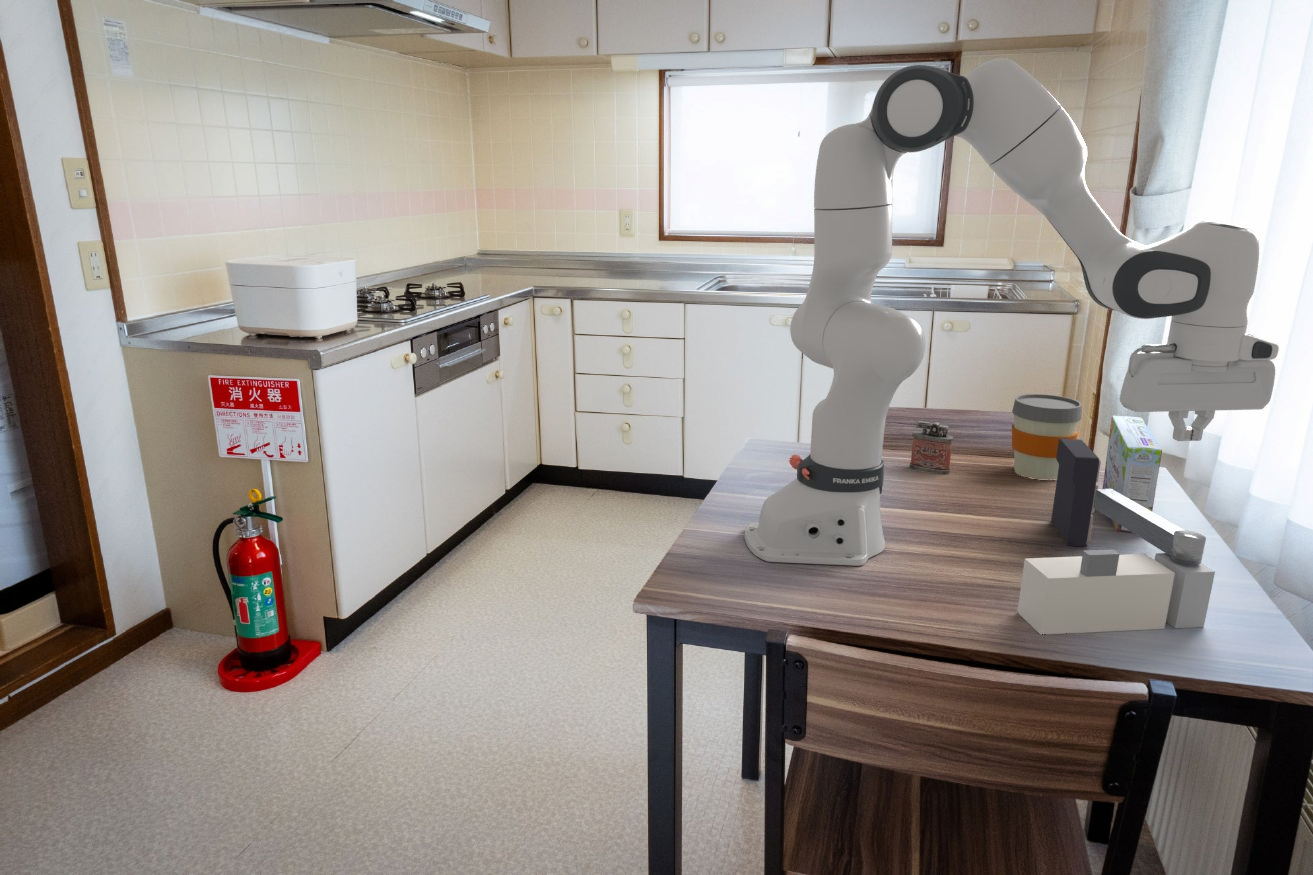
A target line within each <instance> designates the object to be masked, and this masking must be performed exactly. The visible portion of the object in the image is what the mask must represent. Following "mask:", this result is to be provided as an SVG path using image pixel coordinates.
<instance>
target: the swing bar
mask: <svg viewBox="0 0 1313 875" xmlns="http://www.w3.org/2000/svg"><path fill="white" fill-rule="evenodd" d="M1093 508H1094V509H1095V510H1096V511H1098V512H1099V513H1100V514H1102V515H1104V516H1106V517H1107V518H1108V519H1110V520H1111V521H1112V520H1114V521H1115V522H1117V523H1118V524H1120V525H1122V526H1123V527H1125V528H1126V529H1128V530H1129V531H1131V532H1130V533H1133V534H1134V535H1136V536H1137V537H1139V538H1141V539H1143V540H1144V541H1145V542H1147V543H1149V544H1150V545H1152V546H1153V547H1155V548H1157V549H1158V550H1160V551H1162V553H1166V554H1168V555H1169V556H1170V558H1171V559H1172V560H1173V561H1175V562H1178V563H1181V564H1185V565H1199V564H1201V563H1202V561H1203V556H1204V550H1205V545H1206V541H1207V538H1206V536H1205V535H1204V534H1201V533H1199V532H1195V531H1191V530H1185V529H1183V528H1181V527H1179V526H1178V525H1176V524H1174V523H1172V522H1170V520H1167V519H1165V518H1164V517H1162V516H1160V515H1158V514H1157V513H1155V512H1153V511H1150V510H1148V509H1146V508H1145V507H1143V506H1141V505H1139V504H1137V503H1136V502H1134V501H1132V500H1130V499H1129V498H1127V497H1125V496H1123V495H1122V494H1120V493H1118V492H1116V491H1115V490H1113V489H1103V488H1098V489H1096V492H1095V498H1094V505H1093Z"/></svg>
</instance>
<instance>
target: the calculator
mask: <svg viewBox="0 0 1313 875" xmlns="http://www.w3.org/2000/svg"><path fill="white" fill-rule="evenodd" d="M1056 460H1057V461H1058V463H1059V469H1058V476H1057V480H1056V483H1055V484H1056V486H1055V491H1054V497H1053V504H1052V513H1051V519H1050V520H1051V523H1052V524H1053V525H1054V527H1055V529H1056V531H1057V532H1058V534H1059V535H1060V538H1061V539H1062V540H1063V541H1064V544H1065V545H1066V546H1074V547H1075V546H1076V547H1086V546H1087V544H1090V542H1091V536H1092V530H1093V529H1092V528H1093V522H1094V515H1093V513H1094V514H1095V512H1096V511H1095V510H1096V509H1094V508H1093V505H1094V498H1095V492H1096V489H1099V485H1098V482H1099V476H1100V472H1101V471H1100V470H1101V464H1102V461H1101V459H1100V457H1098V456H1097V455H1096V454H1095V452H1094V451H1093V450H1092V449H1091V448H1090V447H1089V445H1087V444H1086V442H1084V441H1083V440H1082V439H1078V438H1076V439H1061V438H1060V439H1059V442H1058V449H1057V456H1056Z"/></svg>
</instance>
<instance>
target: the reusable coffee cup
mask: <svg viewBox="0 0 1313 875" xmlns="http://www.w3.org/2000/svg"><path fill="white" fill-rule="evenodd" d="M1014 398H1015V399H1014V402H1013V406H1012V411H1011V412H1012V414H1013V423H1012V425H1011V447H1012V449H1013V450H1014V451H1013V452H1014V453H1013V456H1014V462H1013V463H1014V470H1015V471H1014V473H1015V472H1016V473H1019V474H1020V475H1024V476H1026V477H1032V478H1035V479H1048V480H1050V479H1052V480H1053V479H1057V476H1058V469H1059V463H1058V461H1057V460H1056V456H1057V449H1058V442H1059V439H1060V438H1061V439H1078V438H1077V437H1078V433H1079V432H1078V430H1077V429H1078V426H1079V422H1080V421H1081V420H1082V414H1083V412H1082V411H1083V409H1082V408H1083V403H1082V402H1080V401H1079V400H1077V399H1075V398H1070V397H1066V396H1061V395H1056V394H1047V393H1046V394H1045V393H1029V394H1028V393H1027V394H1020V395H1018V396H1016V397H1014ZM1016 473H1015V474H1016ZM1020 475H1019V476H1020Z"/></svg>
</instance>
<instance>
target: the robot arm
mask: <svg viewBox="0 0 1313 875" xmlns="http://www.w3.org/2000/svg"><path fill="white" fill-rule="evenodd" d="M954 137H957V138H960V139H963V140H964V141H966V142H967V143H968V144H970V146H972V147H973V148H974V149H975V150H976V152H978V154H979V155H980V156H981V158H982V159H983V160H984V161H985V163H986V164H987V165H988V166H989V167H990V169H991V170H992V172H994V173H995V174H996V176H997V177H998V178H999V179H1000V180H1001V181H1002V182H1004V184H1005V185H1006V186H1007V187H1009V188H1010V189H1011V190H1012V191H1013V192H1014V193H1016V194H1017V195H1018V196H1019V198H1020V197H1021V199H1023V200H1024V201H1025V202H1027V203H1028V204H1030V205H1031V206H1032V207H1034V208H1035V209H1036V210H1037V211H1039V212H1040V213H1041V214H1042V215H1043V216H1044V217H1045V218H1046V219H1047V221H1048V222H1049V223H1050V224H1051V225H1052V227H1053V228H1054V229H1055V231H1056V232H1057V233H1058V234H1059V236H1060V237H1061V238H1062V240H1063V241H1064V242H1065V244H1067V246H1068V247H1069V248H1070V250H1071V251H1072V253H1073V254H1074V256H1075V257H1077V260H1078V262H1079V264H1080V267H1081V271H1082V276H1083V280H1084V285H1085V288H1086V291H1087V293H1088V295H1089V297H1090V298H1091V299H1092V300H1093V301H1094V302H1095V303H1096V304H1098V305H1099V306H1101V307H1102V308H1104V309H1106V310H1110V311H1116V312H1119V313H1121V314H1123V315H1126V316H1128V317H1131V318H1135V319H1140V320H1150V319H1157V318H1158V319H1159V318H1167V317H1168V318H1169V317H1171V318H1170V319H1171V320H1170V325H1169V332H1168V337H1167V342H1166V343H1161V344H1150V343H1149V344H1148V343H1147V344H1142V345H1141V347H1138V348H1137V349H1135V350H1134V351H1133V352H1131V353H1130V356H1129V360H1128V365H1127V366H1128V367H1127V371H1126V373H1125V376H1124V379H1123V382H1122V386H1121V390H1120V394H1119V401H1120V404H1121V405H1122V407H1124V408H1125V409H1128V410H1129V411H1132V412H1135V413H1158V412H1159V413H1162V412H1164V413H1165V412H1168V417H1169V420H1170V422H1171V424H1172V427H1173V431H1172V438H1173V440H1175V441H1176V442H1198V441H1199V442H1200V441H1202V438H1203V434H1204V430H1205V429H1206V428H1207V427H1208V425H1209V424H1210V423H1211V422H1212V421H1213V420H1214V419H1215V414H1216V411H1248V410H1250V411H1251V410H1252V411H1253V410H1257V411H1258V410H1259V411H1260V410H1263V409H1264V408H1265V407H1266V406H1267V405H1269V403H1270V402H1271V399H1272V395H1273V390H1274V386H1275V379H1276V378H1275V377H1276V366H1275V364H1274V362H1273V360H1274V359H1276V358H1277V356H1278V353H1279V350H1280V348H1279V345H1278V344H1277V343H1274V342H1271V341H1268V340H1266V339H1262V338H1260V337H1256V336H1254V335H1253V334H1250V333H1247V327H1248V324H1249V323H1248V321H1249V320H1248V315H1247V314H1248V313H1247V312H1248V305H1249V303H1250V300H1251V299H1252V297H1253V295H1254V293H1255V288H1256V282H1257V276H1258V268H1259V261H1260V260H1259V259H1260V242H1259V240H1260V239H1259V237H1258V235H1257V234H1256V233H1255V232H1254V231H1253V230H1251V229H1250V228H1248V227H1245V226H1242V225H1236V224H1231V223H1227V222H1226V223H1225V222H1219V221H1218V222H1217V221H1213V220H1200V221H1197V222H1195V223H1193V225H1192V226H1189V228H1187V229H1184V230H1183V231H1181V232H1179V233H1177V234H1175V235H1172V236H1170V237H1168V238H1165V239H1162V240H1160V241H1157V242H1153V243H1150V244H1148V245H1145V244H1143V243H1140V242H1138V241H1136V240H1133V239H1132V238H1129V237H1127V236H1125V235H1124V234H1123V233H1122V232H1121V231H1120V230H1119V229H1118V228H1117V227H1116V226H1115V224H1114V223H1113V221H1112V220H1111V219H1110V217H1109V216H1108V215H1107V214H1106V212H1105V211H1104V210H1103V209H1102V207H1101V206H1100V205H1099V203H1098V202H1097V200H1096V199H1095V198H1094V196H1093V195H1092V194H1091V192H1090V190H1089V188H1088V185H1087V184H1086V178H1085V167H1086V163H1087V158H1088V146H1086V145H1087V144H1086V143H1085V141H1084V140H1085V139H1083V137H1082V135H1081V132H1080V131H1079V129H1078V127H1077V126H1076V124H1075V122H1074V121H1073V120H1072V118H1071V117H1070V115H1069V114H1068V113H1067V111H1066V110H1065V109H1064V108H1063V106H1061V103H1060V102H1059V101H1058V100H1057V99H1056V98H1055V97H1054V96H1053V95H1052V94H1051V93H1050V91H1049V90H1047V88H1046V87H1045V86H1044V85H1043V84H1042V83H1041V82H1039V80H1037V79H1036V78H1035V77H1034V76H1033V75H1032V74H1031V73H1029V72H1028V71H1027V70H1026V69H1025V68H1024V67H1022V66H1020V64H1018V63H1017V62H1015V61H1014V60H1012V59H1010V58H1006V57H997V58H993V59H990V60H988V61H985V62H983V63H981V64H980V65H978V66H976V67H975V68H974V69H972V70H971V71H970V72H968V74H966V75H960V74H957V73H953V72H950V71H948V70H944V69H942V68H939V67H935V66H931V65H925V64H914V65H909V66H906V67H902V68H900V69H898V70H896V71H895V72H893V73H892V74H890V76H888V77H887V78H886V79H885V80H884V81H883V83H882V84H881V86H880V87H879V88H878V90H877V92H876V94H875V97H874V100H873V103H872V106H871V109H870V112H869V114H868V115H867V117H866V118H865V119H864V120H862V121H859V122H856V123H851V124H845V125H842V126H839V127H837V128H834V129H832V130H831V131H830V132H829V133H827V134H826V135H825V137H823V139H822V140H821V142H820V145H819V149H818V154H817V160H816V168H815V176H814V192H813V193H814V194H813V196H814V197H813V208H814V209H813V211H814V212H813V216H814V218H813V220H814V223H813V224H814V227H813V228H814V231H813V232H814V238H813V239H814V247H813V248H814V256H813V258H814V259H813V267H812V273H811V277H810V282H809V285H808V286H809V287H808V290H807V293H806V296H805V298H804V301H803V302H802V303H801V304H800V305H799V307H798V308H797V309H796V311H795V312H794V313H793V314H792V319H791V322H790V327H789V329H790V330H789V332H790V333H789V334H790V338H791V341H792V342H793V345H794V346H795V348H796V349H797V350H798V351H799V352H801V353H802V354H803V355H804V356H806V357H807V358H808V359H809V360H810V361H812V362H814V363H815V364H818V365H821V366H823V367H827V368H830V369H832V370H833V378H832V382H831V386H830V388H829V391H828V393H827V396H826V397H825V398H824V399H822V400H821V401H819V402H818V403H817V404H816V406H815V407H814V409H813V411H812V417H811V419H812V420H811V421H812V422H811V433H810V434H811V436H810V439H811V440H810V452H809V455H808V456H806V457H805V458H804V459H802V458H801V456H800V455H798V454H792V455H791V456H790V457H789V459H788V462H789V464H790V465H791V468H793V470H796V478H794V480H793V481H791V482H790V483H788V484H787V485H785V486H783V487H782V488H781V489H779V490H778V491H775V492H774V493H773V494H771V495H770V496H768V497H767V498H766V499H765V500H764V501H763V504H762V507H761V509H760V512H759V518H758V521H757V522H752V523H749V524H748V525H747V526H746V527H745V530H744V541H745V545H746V546H747V547H748V549H749V550H750V552H751V553H753V555H755V556H756V557H757V558H759V559H761V560H763V561H765V562H768V563H769V562H770V563H787V564H788V563H789V564H790V563H792V564H811V565H812V564H813V565H833V566H834V565H836V566H855V567H856V566H858V567H859V566H863V565H865V564H866V563H867V562H868V560H869V559H870V558H872V557H875V556H876V555H879V554H880V553H882V552H883V551H884V550H885V548H886V540H885V537H884V533H883V525H882V517H881V495H882V493H883V492H882V491H883V486H884V479H885V467H884V466H885V463H884V460H883V458H882V457H883V448H884V447H883V446H884V440H885V439H884V438H885V437H884V436H885V429H886V420H887V416H888V411H889V408H890V405H891V402H892V399H893V397H894V395H895V393H896V392H897V390H898V388H899V387H900V385H901V384H902V383H903V382H904V381H905V380H907V379H908V378H910V377H911V376H912V375H913V374H914V373H915V372H916V371H917V370H918V369H919V367H920V365H921V364H922V361H923V360H924V356H925V353H926V352H925V351H926V336H925V333H924V330H923V329H922V327H921V325H920V324H919V323H918V322H917V321H916V320H914V319H913V318H911V317H910V316H908V315H906V314H904V312H901V311H899V310H898V309H896V308H893V307H890V306H884V305H881V304H875V303H872V293H873V287H874V284H875V281H876V279H877V276H878V274H879V273H880V272H881V270H883V269H884V268H885V267H886V266H888V264H889V262H890V260H891V258H892V255H893V181H894V180H893V178H894V171H895V168H896V165H897V163H898V161H899V159H900V158H901V157H902V156H903V155H905V154H908V153H917V152H918V153H919V152H922V151H925V150H929V149H930V148H933V147H935V146H937V145H939V144H941V143H944V142H945V141H947V140H949V139H951V138H954ZM1189 412H1194V415H1196V416H1195V419H1194V420H1193V422H1192V423H1191V424H1190V425H1189V426H1187V425H1186V422H1185V419H1188V417H1189Z"/></svg>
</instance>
